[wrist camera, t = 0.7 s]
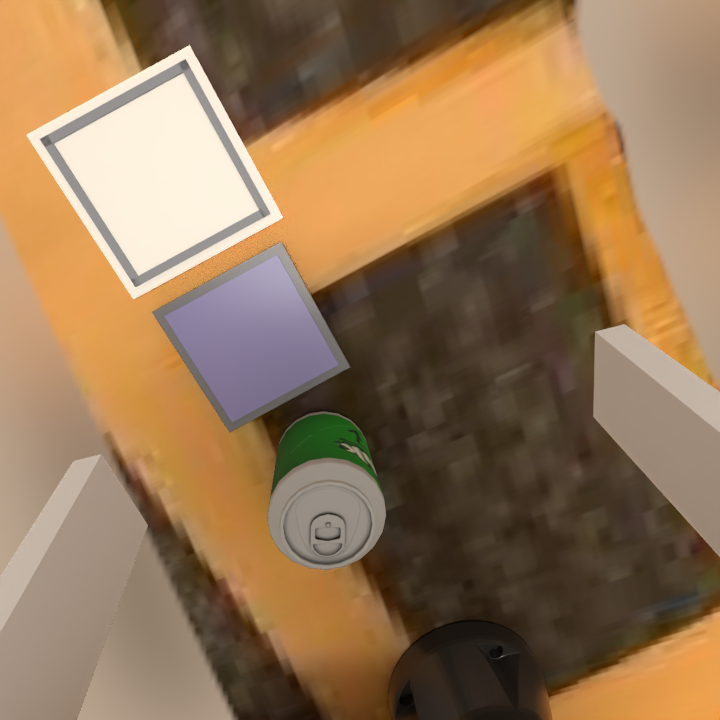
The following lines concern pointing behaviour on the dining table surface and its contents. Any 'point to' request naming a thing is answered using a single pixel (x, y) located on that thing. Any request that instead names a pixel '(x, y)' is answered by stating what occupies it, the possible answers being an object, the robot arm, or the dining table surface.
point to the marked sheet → (157, 173)
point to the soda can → (325, 493)
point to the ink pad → (253, 337)
